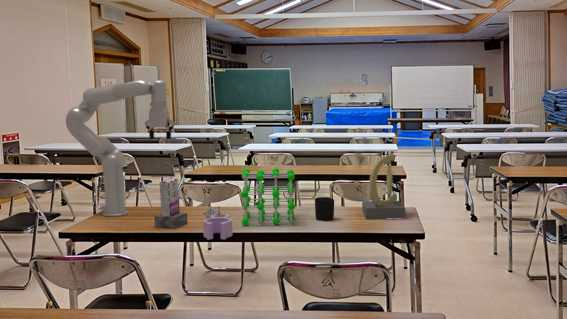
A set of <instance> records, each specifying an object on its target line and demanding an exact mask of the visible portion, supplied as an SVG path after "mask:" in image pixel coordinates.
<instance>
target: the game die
mask: <svg viewBox="0 0 567 319" xmlns="http://www.w3.org/2000/svg"><path fill="white" fill-rule="evenodd" d="M202 214H203V215H204V216H205V219H208V218H211V215H215V214H218V217H223V214H222V212H221V210H220V206H218V207H213V206H210V205H209V208H207V210H206V211H205V212H203V213H202Z"/></svg>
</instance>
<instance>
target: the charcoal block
mask: <svg viewBox="0 0 567 319" xmlns="http://www.w3.org/2000/svg"><path fill="white" fill-rule="evenodd" d="M187 224H188V212H179V213H177V214H175V215H174V216H172V217H162V216H161V213H160V214H157V215H154V227H155V228H161V229H162V228H164V229H165V228H166V229H174V230H175V229H178V228H180V227H182V226H185V225H187Z"/></svg>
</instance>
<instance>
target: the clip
mask: <svg viewBox="0 0 567 319" xmlns="http://www.w3.org/2000/svg"><path fill="white" fill-rule="evenodd" d="M222 216H223V217H218V214H215V215H211V218H208V219H207V218H205V219H203V220H202V222H203V223H202V226H203V228H202V229H203V238H205V239H206V240H209V241H210V240H213V239H214V234H220V240H226V239H228V238H229V239H230V237H232V236H233V219H232V218H231V217H230V214H227V213H224V214H222Z"/></svg>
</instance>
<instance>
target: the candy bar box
mask: <svg viewBox="0 0 567 319" xmlns="http://www.w3.org/2000/svg"><path fill="white" fill-rule="evenodd" d="M159 192H160V193H159V194H160V195H159V196H160V209H161V210H160V211H161V212H160V214H161V216H162V217H172V216H174V215H175V214H177V213H181V212H180V211H181V210H180V191H179V178H175V177H172V178H167V179H164V180H162V181H159Z"/></svg>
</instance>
